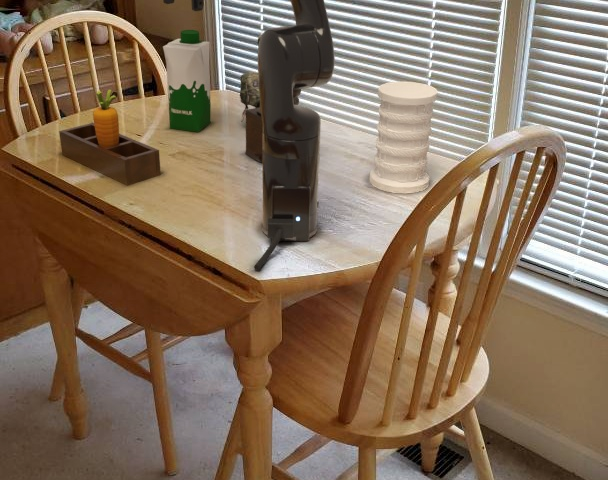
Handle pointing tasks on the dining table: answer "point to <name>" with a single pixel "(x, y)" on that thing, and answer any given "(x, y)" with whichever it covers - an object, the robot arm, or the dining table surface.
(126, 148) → the rack
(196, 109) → the milk carton
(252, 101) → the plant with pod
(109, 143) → the carrot
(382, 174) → the decorative container
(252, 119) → the manual coffee grinder
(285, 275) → the dining table surface
